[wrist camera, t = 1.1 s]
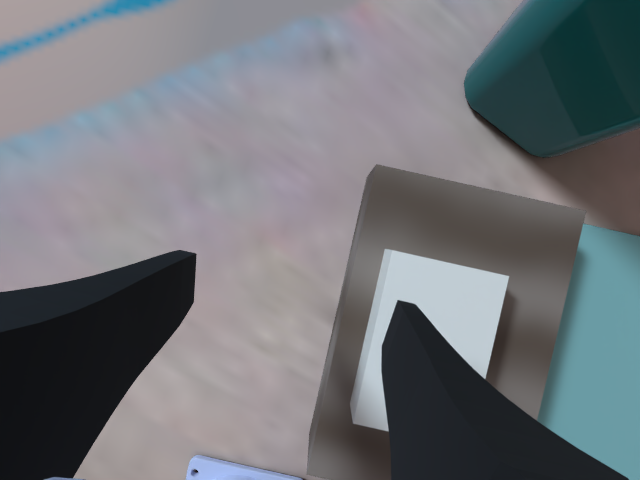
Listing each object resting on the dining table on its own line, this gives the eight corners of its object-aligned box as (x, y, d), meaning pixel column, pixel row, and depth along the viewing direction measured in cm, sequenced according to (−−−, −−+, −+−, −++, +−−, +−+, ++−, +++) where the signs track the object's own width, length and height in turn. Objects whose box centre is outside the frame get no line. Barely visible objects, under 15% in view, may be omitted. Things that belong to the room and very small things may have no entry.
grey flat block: (480, 471, 23) (513, 521, 19) (309, 433, 23) (306, 474, 19) (539, 215, 23) (586, 211, 19) (366, 176, 23) (376, 164, 19)
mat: (651, 510, 23) (657, 515, 23) (480, 471, 23) (482, 475, 23) (713, 253, 23) (720, 254, 22) (539, 215, 23) (543, 214, 22)
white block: (453, 427, 19) (468, 449, 17) (349, 403, 19) (353, 423, 17) (489, 271, 19) (509, 276, 17) (384, 248, 19) (392, 250, 17)
